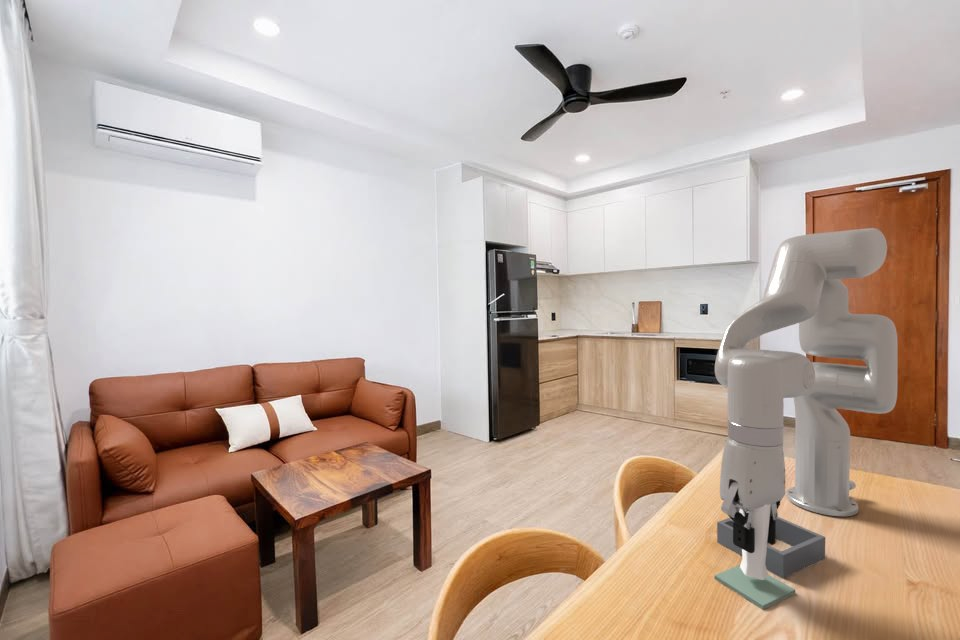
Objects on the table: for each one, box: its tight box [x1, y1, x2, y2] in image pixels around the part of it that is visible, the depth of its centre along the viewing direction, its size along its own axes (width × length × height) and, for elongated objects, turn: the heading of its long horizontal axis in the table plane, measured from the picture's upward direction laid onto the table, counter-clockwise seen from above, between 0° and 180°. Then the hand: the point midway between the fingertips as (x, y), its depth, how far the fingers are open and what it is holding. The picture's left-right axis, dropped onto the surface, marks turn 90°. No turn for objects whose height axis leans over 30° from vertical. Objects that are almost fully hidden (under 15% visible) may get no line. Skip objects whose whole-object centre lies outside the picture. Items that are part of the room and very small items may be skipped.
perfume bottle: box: [739, 501, 771, 580], centre depth 70 cm, size 5×4×15 cm
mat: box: [714, 563, 796, 610], centre depth 70 cm, size 8×8×1 cm
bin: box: [716, 516, 826, 579], centre depth 80 cm, size 12×12×4 cm
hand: (754, 543), depth 70 cm, fingers closed on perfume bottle, 4 cm apart
